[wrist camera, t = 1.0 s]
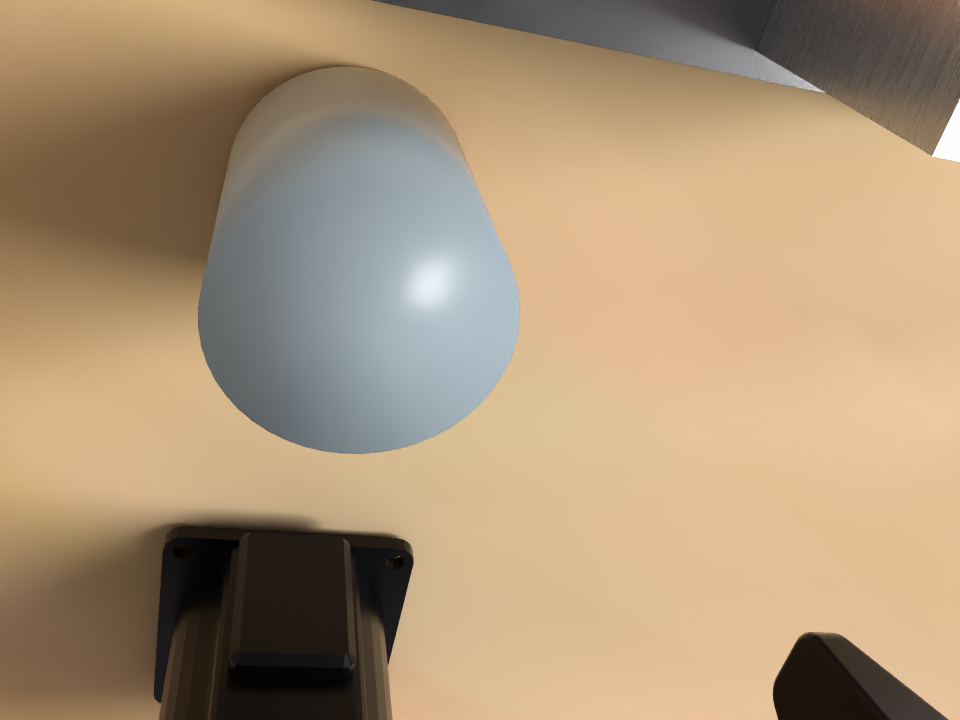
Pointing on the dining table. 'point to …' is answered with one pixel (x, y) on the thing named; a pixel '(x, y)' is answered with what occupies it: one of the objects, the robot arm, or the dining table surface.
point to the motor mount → (776, 47)
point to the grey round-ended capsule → (354, 269)
